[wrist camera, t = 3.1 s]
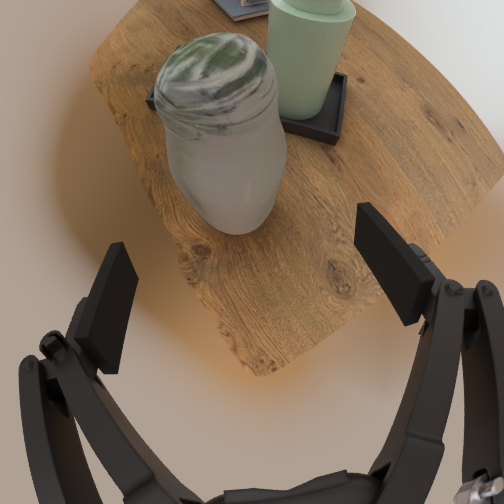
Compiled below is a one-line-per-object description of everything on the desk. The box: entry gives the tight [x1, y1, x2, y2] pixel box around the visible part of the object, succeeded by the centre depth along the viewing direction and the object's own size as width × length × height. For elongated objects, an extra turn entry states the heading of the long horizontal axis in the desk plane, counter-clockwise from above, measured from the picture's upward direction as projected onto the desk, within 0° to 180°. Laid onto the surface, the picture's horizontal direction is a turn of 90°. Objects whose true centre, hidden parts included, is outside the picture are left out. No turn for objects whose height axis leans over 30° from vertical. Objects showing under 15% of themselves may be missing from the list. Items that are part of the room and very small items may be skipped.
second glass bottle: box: [266, 0, 356, 120], centre depth 28 cm, size 10×10×28 cm
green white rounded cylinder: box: [154, 32, 287, 235], centre depth 26 cm, size 10×10×28 cm
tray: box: [146, 46, 347, 145], centre depth 41 cm, size 31×14×3 cm, turn 75°
